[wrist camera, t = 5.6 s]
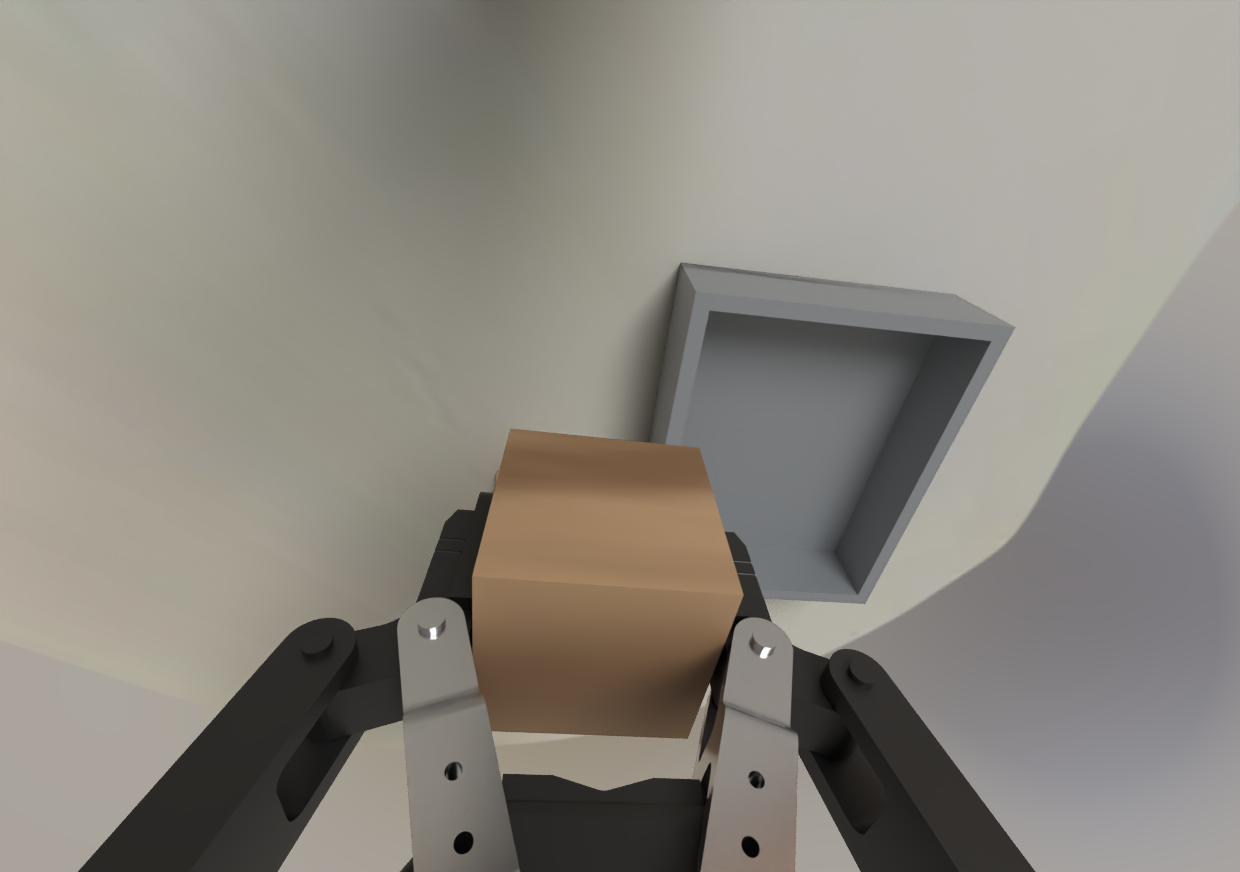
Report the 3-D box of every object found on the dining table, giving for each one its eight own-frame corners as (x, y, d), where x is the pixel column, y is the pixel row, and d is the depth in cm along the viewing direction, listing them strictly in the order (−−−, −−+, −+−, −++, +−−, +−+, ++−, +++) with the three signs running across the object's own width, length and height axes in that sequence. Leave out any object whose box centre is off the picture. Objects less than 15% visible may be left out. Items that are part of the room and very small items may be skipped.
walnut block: (510, 428, 14) (472, 576, 9) (699, 447, 14) (743, 595, 10) (504, 566, 16) (472, 730, 12) (664, 578, 17) (687, 738, 13)
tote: (680, 262, 28) (696, 291, 24) (955, 294, 30) (1015, 327, 25) (631, 537, 38) (635, 591, 34) (836, 550, 40) (865, 603, 36)
